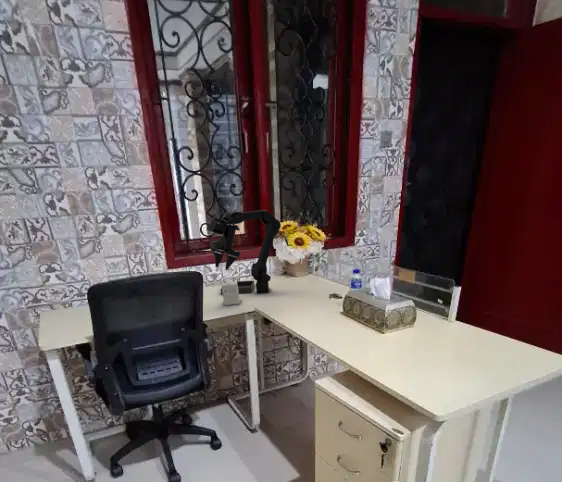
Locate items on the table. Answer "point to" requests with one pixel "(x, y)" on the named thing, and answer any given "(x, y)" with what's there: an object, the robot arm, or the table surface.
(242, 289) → the pan
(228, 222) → the robot arm
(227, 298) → the small box
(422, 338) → the table surface
